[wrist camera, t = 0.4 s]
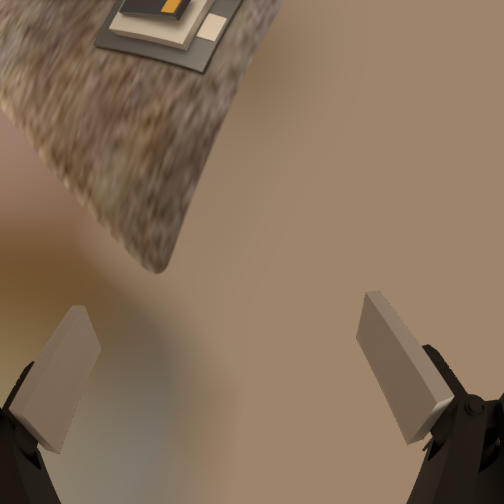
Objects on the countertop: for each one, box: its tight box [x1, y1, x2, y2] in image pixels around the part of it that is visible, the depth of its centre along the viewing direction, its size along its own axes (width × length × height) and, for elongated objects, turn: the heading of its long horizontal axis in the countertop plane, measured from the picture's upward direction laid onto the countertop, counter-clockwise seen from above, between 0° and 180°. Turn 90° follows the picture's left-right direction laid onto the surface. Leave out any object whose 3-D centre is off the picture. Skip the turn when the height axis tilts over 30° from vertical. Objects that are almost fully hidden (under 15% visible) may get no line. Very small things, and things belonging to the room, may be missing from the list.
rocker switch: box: [118, 0, 191, 21], centre depth 21 cm, size 4×8×1 cm, turn 66°
